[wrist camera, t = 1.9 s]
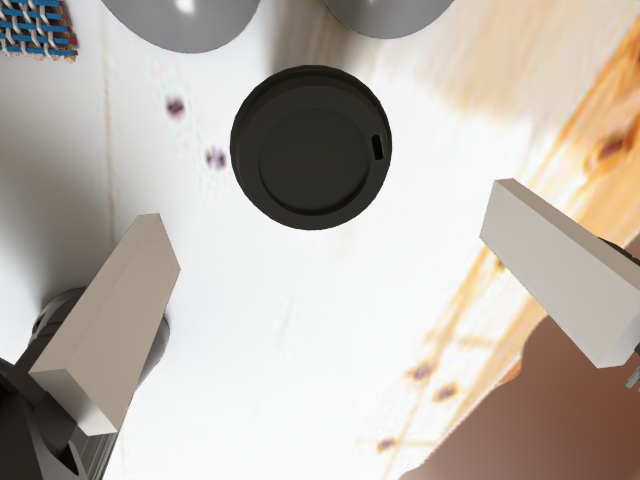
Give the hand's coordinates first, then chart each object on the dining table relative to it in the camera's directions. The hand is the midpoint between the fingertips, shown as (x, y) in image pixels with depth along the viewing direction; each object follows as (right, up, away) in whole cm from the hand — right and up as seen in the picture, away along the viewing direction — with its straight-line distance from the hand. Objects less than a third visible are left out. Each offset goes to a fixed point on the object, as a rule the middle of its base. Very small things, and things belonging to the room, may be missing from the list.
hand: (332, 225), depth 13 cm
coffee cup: (-2, +12, +18) cm, 22 cm away
